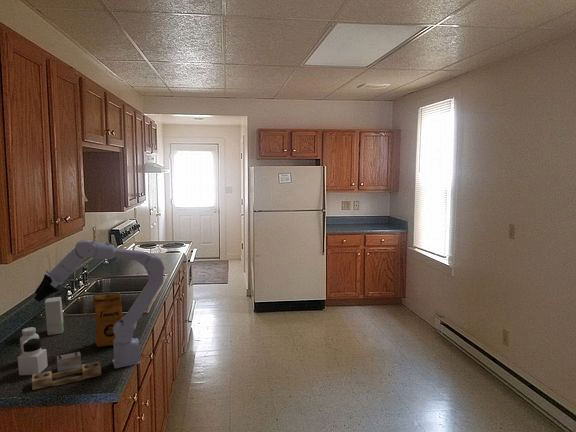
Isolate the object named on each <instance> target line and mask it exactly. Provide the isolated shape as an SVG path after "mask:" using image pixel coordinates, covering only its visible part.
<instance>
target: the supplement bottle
mask: <svg viewBox="0 0 576 432" xmlns="http://www.w3.org/2000/svg"><path fill="white" fill-rule="evenodd" d="M36 331H37V329H36V327H33V326H30V327H25V328H23V329H22V330H21V333H22V334H21V335H22V336H20V338H19V344H20V355H21V354H23V350H22V343H23V342H24V341H26V340H28V339H33V338H36V339H40V336H39V334H38V333H36Z"/></svg>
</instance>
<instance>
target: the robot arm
mask: <svg viewBox="0 0 576 432" xmlns="http://www.w3.org/2000/svg"><path fill="white" fill-rule="evenodd" d="M90 257H91V258H93V259H101V260H112V259H113V258H117V259H118V258H120V259H125V260H131V261H136V262H138V263H139V264H140V265H142V267H144V269H145V270H146V272H147V273H146V274H147V276H148V280H147V282H146V284H145V286H144V287H143V289H142V290H141V292H140V293H139V294H138V296H137V298H135V300H134V302H133V303H132V305H131V306H130V307H129V309H128V311H127V313H125V315H123V317H122V318H121V320H120V321H118V322H117V323H115V325H114V326H113V333H114V334H115V339H114V340H113V345H112V346H113V357H114V358H113V359H112V360H111V361H112V364H113V367H114V369H120V368H124V367H129V366H133V365H139V364H141V363H142V362H141V347H140V346H141V345H140V341H139V338H137V337H135V338H134V337H133V336H134V331H135V330H136V328H137V323H138V321H139V319H140V318H141V317H142V315H143V314H144V312H145V311H146V309H147V307H148V306H149V304H150V303H151V302H152V300H153V298H155V296H156V294H157V292H158V291H159V289H160V288H161V286H162V285H163V283H164V272H165V266H164V263H163V261H162V259H161V258H159V257H158V256H157V255H156V254H155V253H150V252H147V251H142V250H136V249H135V250H134V249H125V248H124V249H123V248H116V247H115V246H114V244H111V243H110V242H108V241H107V242H105V243H103V242H96V240H92V241H89V240H87V239H83V240H80V241H78V242H77V243H76V244H75V247H74V248H73V249H71V251H70V252H68V253H67V254H66V255H65V256H64V257H63V258H62V259H61V260H60V261H59V262H58V263H57V265H55V266H54V267H53V268H52V269H51V271H50V270H48V269H47V270H45V274H44V276H43V278H42V280H41V282H40V283H39V285H38V286H37V287H36V289H35V291H34V293H35V296H34V300H36V301H37V302H38V303H40V302H42V301H43V300H44V299H45V298H46V299H47V297H49V296H50V295H52V294H54V293H58V292H59V289H58V288H57V286H58V285H63V284H64V282H65V281H66V280H67V279H68V278H69V277H70V275H72V273H74V272H75V271H76V270H77V269H78V268H79V267H80V266H81V264H82V263H83V262H84V261H85V260H86V259H88V258H90Z"/></svg>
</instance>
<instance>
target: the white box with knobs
mask: <svg viewBox="0 0 576 432" xmlns="http://www.w3.org/2000/svg"><path fill="white" fill-rule="evenodd" d="M81 357H82V356H81V352H80V351H76V352H71V353H67V354H66V353H65V354H59V355H56V364H57V373H59V372H64V371H68V370H73V369H78V368H82V358H81Z"/></svg>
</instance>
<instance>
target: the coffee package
mask: <svg viewBox="0 0 576 432" xmlns="http://www.w3.org/2000/svg"><path fill="white" fill-rule="evenodd" d="M93 302H94V303H93V304H94V311H95V317H94V318H95V320H94V322H95V327H96V328H95V344H96V347H98V348H99V347H101V348H102V347H108V346H113V340H114V339H115V334H114V333H113V326H114V325H115V323H117V322H118V321H120V320H121V318H122V317H123V316H124V315H123V307H122V306H123V305H122V298H121V293H120V292H119V293H111V294H100V295H94V296H93Z"/></svg>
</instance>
